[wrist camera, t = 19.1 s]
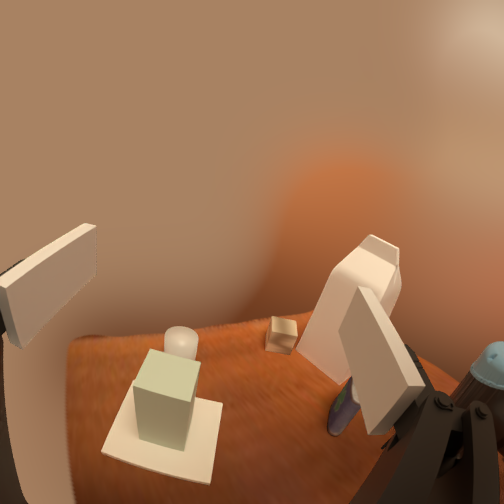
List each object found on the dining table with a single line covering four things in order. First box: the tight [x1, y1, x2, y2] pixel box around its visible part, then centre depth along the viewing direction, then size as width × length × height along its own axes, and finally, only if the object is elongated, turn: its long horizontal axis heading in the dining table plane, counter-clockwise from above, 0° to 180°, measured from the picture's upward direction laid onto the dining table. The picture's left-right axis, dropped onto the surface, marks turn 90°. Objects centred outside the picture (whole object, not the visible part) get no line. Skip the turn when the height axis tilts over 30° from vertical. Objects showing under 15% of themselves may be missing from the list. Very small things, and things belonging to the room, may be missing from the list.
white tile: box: [101, 380, 223, 485], centre depth 32 cm, size 14×14×1 cm
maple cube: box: [265, 316, 298, 355], centre depth 55 cm, size 5×5×5 cm
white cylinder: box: [164, 326, 198, 361], centre depth 42 cm, size 5×5×8 cm
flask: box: [327, 376, 361, 436], centre depth 39 cm, size 9×3×11 cm, turn 157°
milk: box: [295, 235, 401, 385], centre depth 51 cm, size 12×12×26 cm
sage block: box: [133, 349, 201, 452], centre depth 30 cm, size 6×6×12 cm
